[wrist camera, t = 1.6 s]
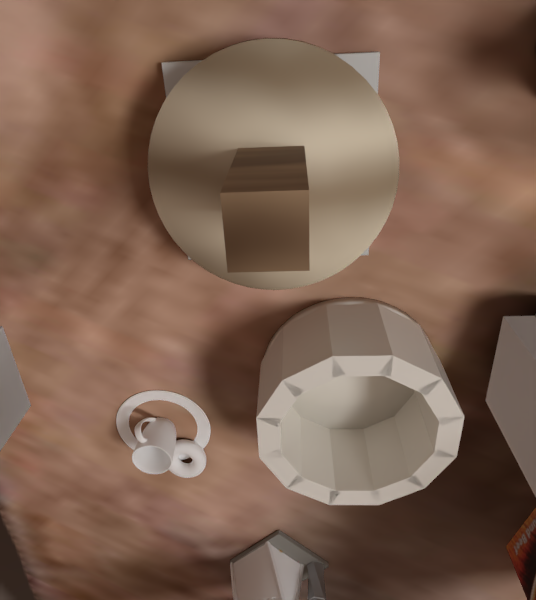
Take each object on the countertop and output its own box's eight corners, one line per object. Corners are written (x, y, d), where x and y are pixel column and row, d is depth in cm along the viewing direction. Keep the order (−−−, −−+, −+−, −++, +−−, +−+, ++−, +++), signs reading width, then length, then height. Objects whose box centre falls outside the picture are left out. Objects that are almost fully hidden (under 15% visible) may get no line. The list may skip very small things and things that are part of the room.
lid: (140, 43, 27) (63, 56, 18) (400, 30, 26) (459, 36, 17) (175, 273, 34) (132, 369, 25) (382, 268, 33) (418, 365, 24)
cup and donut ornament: (217, 463, 45) (210, 501, 41) (129, 463, 45) (115, 502, 41) (205, 385, 40) (197, 420, 37) (108, 387, 41) (91, 422, 37)
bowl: (258, 299, 36) (251, 357, 29) (444, 295, 35) (476, 354, 29) (266, 434, 42) (262, 504, 36) (424, 433, 41) (447, 505, 35)
